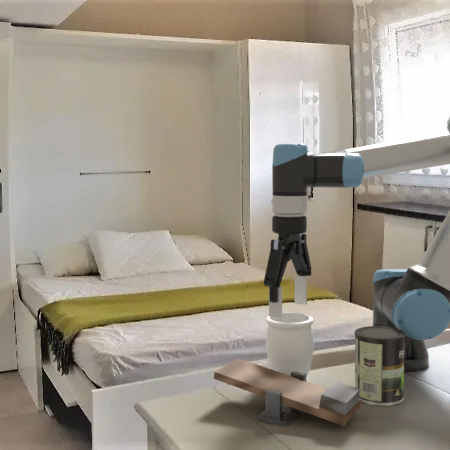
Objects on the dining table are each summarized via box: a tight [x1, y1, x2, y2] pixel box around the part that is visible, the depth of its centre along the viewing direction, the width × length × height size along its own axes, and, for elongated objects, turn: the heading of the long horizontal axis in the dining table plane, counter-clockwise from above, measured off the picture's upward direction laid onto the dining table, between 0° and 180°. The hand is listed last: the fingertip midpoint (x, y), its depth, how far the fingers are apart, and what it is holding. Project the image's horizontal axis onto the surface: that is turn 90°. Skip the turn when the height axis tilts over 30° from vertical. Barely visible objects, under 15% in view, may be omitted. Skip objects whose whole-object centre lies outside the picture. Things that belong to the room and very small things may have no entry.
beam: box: [213, 358, 362, 427], centre depth 129 cm, size 28×10×4 cm, turn 60°
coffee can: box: [354, 325, 405, 407], centre depth 136 cm, size 10×10×14 cm
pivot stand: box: [256, 371, 306, 428], centre depth 129 cm, size 6×14×6 cm, turn 150°
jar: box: [265, 312, 315, 382], centre depth 145 cm, size 11×10×15 cm
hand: (288, 310), depth 144 cm, fingers open, 13 cm apart
